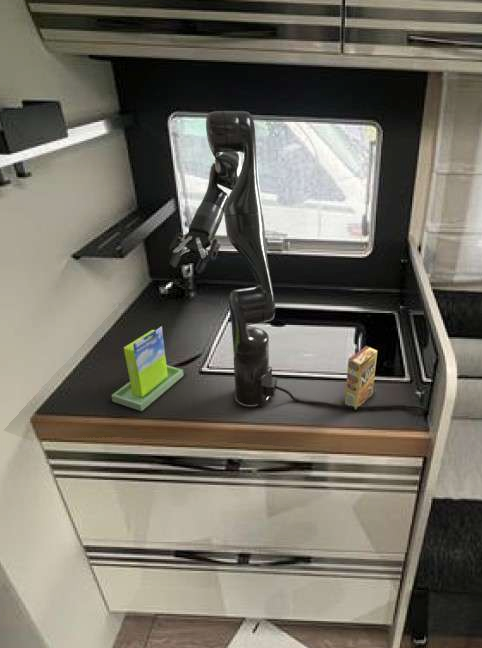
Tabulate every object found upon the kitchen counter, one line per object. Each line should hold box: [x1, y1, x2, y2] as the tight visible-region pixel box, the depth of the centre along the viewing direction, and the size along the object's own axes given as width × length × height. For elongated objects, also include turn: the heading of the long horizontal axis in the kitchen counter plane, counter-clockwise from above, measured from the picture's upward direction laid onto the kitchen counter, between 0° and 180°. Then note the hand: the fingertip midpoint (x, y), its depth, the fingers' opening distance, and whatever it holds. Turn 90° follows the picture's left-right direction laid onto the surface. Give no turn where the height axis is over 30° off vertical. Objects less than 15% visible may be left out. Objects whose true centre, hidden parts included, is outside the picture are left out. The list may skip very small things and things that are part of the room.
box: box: [123, 326, 168, 398], centre depth 108 cm, size 10×4×17 cm, turn 161°
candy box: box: [344, 345, 378, 410], centre depth 111 cm, size 9×4×15 cm, turn 144°
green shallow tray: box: [111, 364, 185, 412], centre depth 112 cm, size 10×17×2 cm, turn 161°
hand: (185, 268), depth 113 cm, fingers open, 8 cm apart
